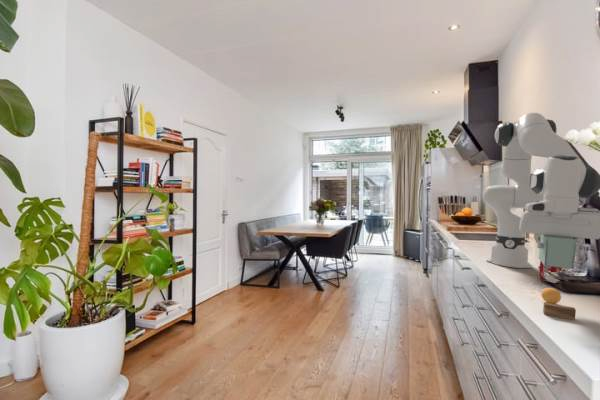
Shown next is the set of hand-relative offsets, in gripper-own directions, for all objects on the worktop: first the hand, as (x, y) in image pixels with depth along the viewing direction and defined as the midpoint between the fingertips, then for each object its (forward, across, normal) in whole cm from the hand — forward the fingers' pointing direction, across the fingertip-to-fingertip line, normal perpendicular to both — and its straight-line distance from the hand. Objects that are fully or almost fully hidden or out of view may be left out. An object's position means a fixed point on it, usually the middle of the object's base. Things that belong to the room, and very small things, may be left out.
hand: (556, 249), depth 101 cm
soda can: (+18, -5, -34) cm, 39 cm away
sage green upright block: (+4, 0, 0) cm, 4 cm away
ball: (+15, 0, -2) cm, 16 cm away
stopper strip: (+18, 0, +10) cm, 21 cm away
